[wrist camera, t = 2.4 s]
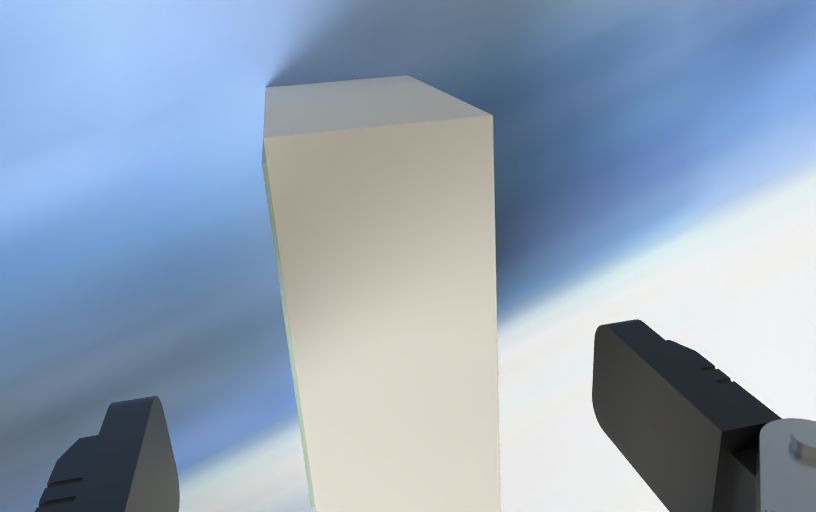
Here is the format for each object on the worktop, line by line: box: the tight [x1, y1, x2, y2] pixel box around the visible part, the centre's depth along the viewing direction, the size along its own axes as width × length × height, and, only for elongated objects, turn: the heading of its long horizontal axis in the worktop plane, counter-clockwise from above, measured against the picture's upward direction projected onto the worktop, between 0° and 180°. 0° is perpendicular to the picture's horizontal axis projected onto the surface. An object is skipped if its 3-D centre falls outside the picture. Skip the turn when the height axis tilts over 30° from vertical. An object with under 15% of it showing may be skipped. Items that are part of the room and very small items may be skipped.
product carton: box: [262, 75, 501, 512], centre depth 17 cm, size 4×10×8 cm, turn 4°
